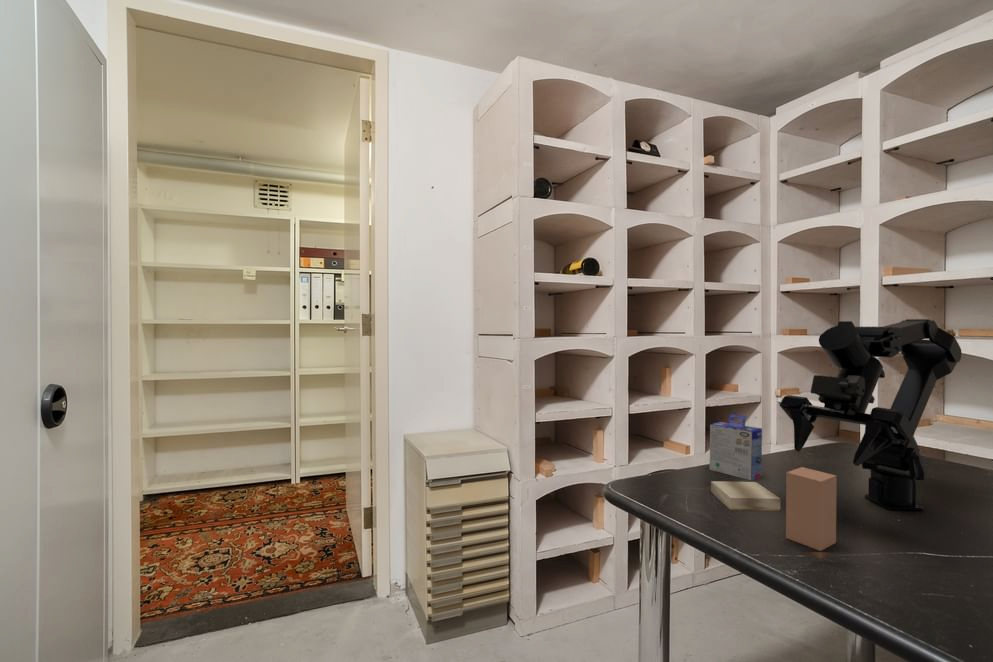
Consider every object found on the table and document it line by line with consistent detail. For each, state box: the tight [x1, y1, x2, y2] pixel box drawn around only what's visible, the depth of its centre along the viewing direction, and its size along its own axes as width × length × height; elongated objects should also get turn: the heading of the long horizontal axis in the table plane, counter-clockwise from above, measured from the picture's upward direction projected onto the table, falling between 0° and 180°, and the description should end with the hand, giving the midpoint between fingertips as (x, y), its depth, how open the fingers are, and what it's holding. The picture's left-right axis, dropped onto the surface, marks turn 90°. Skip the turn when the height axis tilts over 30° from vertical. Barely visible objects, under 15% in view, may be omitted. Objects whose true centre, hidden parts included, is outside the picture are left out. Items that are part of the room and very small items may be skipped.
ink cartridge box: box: [709, 413, 763, 481], centre depth 105 cm, size 10×6×14 cm, turn 37°
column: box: [785, 466, 837, 560], centre depth 73 cm, size 5×5×12 cm
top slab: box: [710, 480, 781, 510], centre depth 89 cm, size 9×9×2 cm
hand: (824, 457), depth 78 cm, fingers open, 9 cm apart
